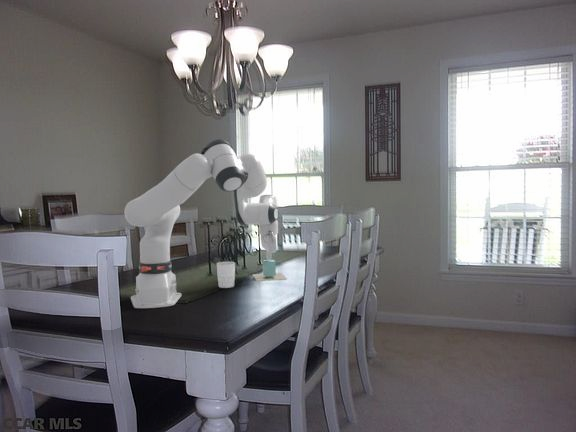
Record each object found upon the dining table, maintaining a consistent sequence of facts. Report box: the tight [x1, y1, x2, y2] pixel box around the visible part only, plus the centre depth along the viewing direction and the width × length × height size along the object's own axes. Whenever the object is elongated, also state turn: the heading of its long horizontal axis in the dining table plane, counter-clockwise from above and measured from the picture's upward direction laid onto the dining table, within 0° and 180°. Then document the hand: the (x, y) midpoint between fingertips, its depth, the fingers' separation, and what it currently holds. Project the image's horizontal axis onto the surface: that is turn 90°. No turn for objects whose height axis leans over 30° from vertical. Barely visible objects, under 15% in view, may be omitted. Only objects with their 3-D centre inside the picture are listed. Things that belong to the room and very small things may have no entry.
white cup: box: [216, 261, 236, 289], centre depth 196 cm, size 8×8×10 cm
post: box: [251, 272, 288, 282], centre depth 214 cm, size 14×14×7 cm
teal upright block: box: [262, 259, 277, 276], centre depth 214 cm, size 5×5×7 cm
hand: (269, 259), depth 214 cm, fingers closed
